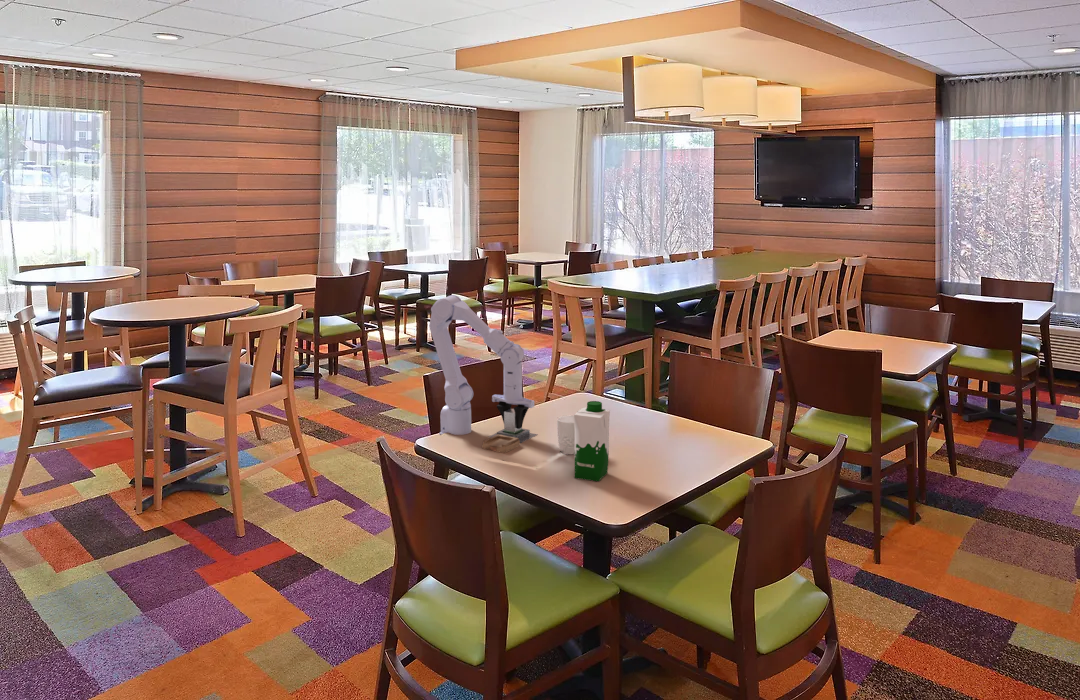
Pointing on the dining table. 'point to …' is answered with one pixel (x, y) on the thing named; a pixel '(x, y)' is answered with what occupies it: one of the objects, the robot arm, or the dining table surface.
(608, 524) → the dining table surface
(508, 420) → the column
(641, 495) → the dining table surface
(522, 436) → the stand base
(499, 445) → the tray
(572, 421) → the white cup
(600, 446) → the milk carton
